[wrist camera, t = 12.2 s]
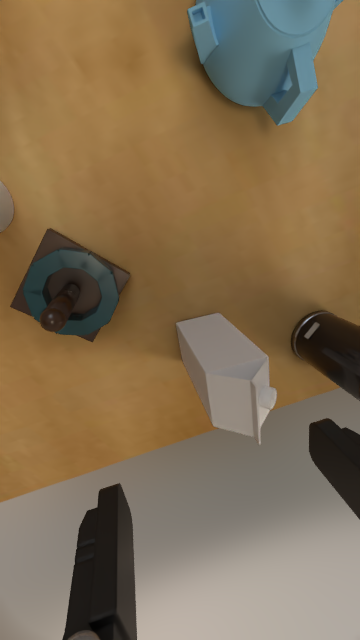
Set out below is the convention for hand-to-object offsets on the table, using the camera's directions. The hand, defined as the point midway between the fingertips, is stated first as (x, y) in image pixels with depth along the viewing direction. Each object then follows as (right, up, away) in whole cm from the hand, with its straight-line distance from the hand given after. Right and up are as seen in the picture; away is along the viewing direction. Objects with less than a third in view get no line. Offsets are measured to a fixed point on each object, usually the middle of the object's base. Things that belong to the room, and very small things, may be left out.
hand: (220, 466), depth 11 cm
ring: (-15, +10, +24) cm, 30 cm away
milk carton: (+1, +3, +32) cm, 32 cm away
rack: (-16, +10, +25) cm, 31 cm away
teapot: (+6, +38, +20) cm, 44 cm away
